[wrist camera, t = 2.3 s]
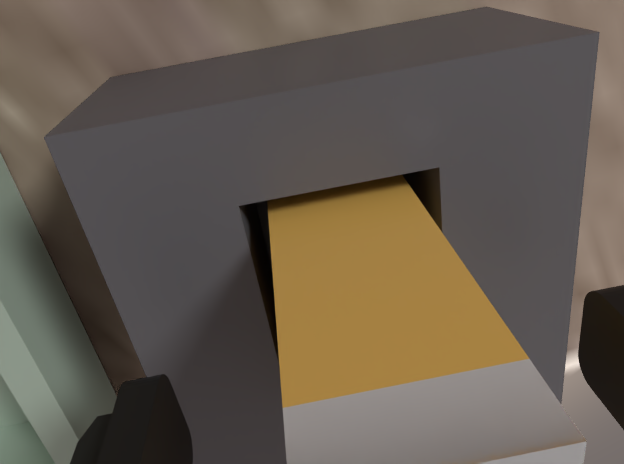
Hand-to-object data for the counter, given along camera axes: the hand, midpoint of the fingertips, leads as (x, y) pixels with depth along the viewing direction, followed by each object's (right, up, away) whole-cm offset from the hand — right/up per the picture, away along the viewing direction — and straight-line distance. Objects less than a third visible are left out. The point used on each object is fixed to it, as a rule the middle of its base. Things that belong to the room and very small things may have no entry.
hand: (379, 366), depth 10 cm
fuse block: (-1, +3, +6) cm, 7 cm away
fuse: (-1, +3, +5) cm, 6 cm away
